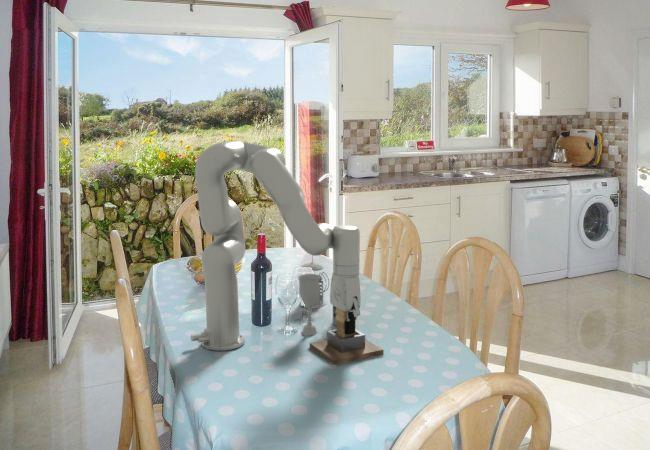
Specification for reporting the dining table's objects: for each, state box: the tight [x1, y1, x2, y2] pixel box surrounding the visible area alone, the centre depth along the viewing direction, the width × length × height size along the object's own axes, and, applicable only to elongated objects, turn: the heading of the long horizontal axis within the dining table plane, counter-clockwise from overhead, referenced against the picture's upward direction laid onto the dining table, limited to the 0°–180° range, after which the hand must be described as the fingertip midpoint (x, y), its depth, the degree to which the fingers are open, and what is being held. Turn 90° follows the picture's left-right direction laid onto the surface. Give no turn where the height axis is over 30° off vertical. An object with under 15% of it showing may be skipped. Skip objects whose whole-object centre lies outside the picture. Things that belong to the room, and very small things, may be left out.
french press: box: [298, 255, 330, 309], centre depth 226 cm, size 10×12×25 cm
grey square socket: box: [326, 328, 366, 353], centre depth 183 cm, size 8×8×4 cm
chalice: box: [297, 273, 322, 336], centre depth 198 cm, size 7×7×18 cm
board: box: [309, 338, 384, 366], centre depth 184 cm, size 16×15×2 cm
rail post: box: [335, 308, 355, 338], centre depth 182 cm, size 4×4×12 cm
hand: (345, 330), depth 183 cm, fingers closed on rail post, 3 cm apart
